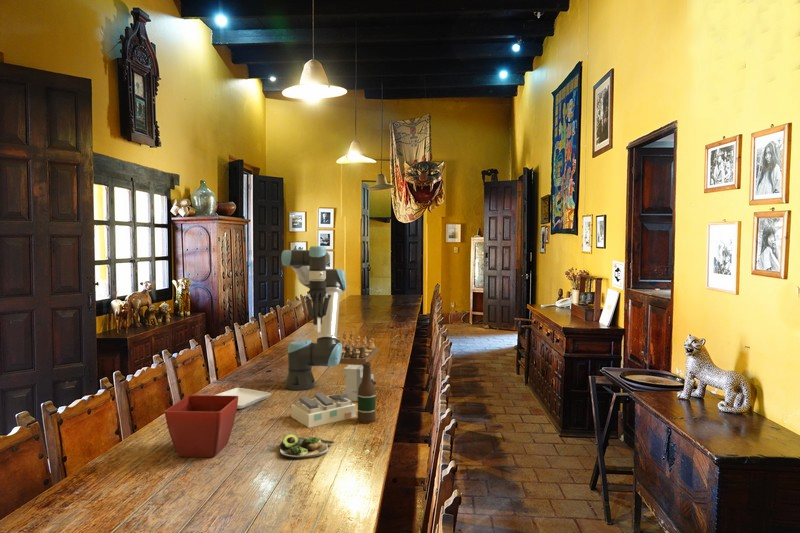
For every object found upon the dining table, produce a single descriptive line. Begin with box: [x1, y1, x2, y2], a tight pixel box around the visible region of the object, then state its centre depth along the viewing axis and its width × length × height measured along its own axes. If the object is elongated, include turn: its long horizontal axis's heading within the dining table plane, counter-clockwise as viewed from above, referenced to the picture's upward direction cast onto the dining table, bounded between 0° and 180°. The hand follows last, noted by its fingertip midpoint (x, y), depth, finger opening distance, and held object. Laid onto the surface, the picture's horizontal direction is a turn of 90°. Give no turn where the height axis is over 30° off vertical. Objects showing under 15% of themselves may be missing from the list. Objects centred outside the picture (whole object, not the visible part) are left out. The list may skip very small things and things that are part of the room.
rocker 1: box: [299, 395, 318, 409], centre depth 215 cm, size 10×3×2 cm, turn 37°
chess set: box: [337, 329, 379, 365], centre depth 336 cm, size 40×40×15 cm
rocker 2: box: [314, 391, 333, 406], centre depth 219 cm, size 10×3×2 cm, turn 37°
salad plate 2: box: [279, 433, 336, 460], centre depth 185 cm, size 19×18×5 cm
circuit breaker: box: [342, 364, 377, 402], centre depth 244 cm, size 8×14×15 cm, turn 78°
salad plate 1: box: [215, 387, 272, 410], centre depth 239 cm, size 21×21×3 cm
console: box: [290, 393, 357, 428], centre depth 219 cm, size 16×22×6 cm
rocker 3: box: [328, 393, 347, 399], centre depth 223 cm, size 10×3×2 cm, turn 37°
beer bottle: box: [357, 361, 377, 424], centre depth 215 cm, size 8×8×24 cm
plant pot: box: [164, 394, 238, 458], centre depth 183 cm, size 19×19×17 cm
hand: (317, 331), depth 239 cm, fingers closed
